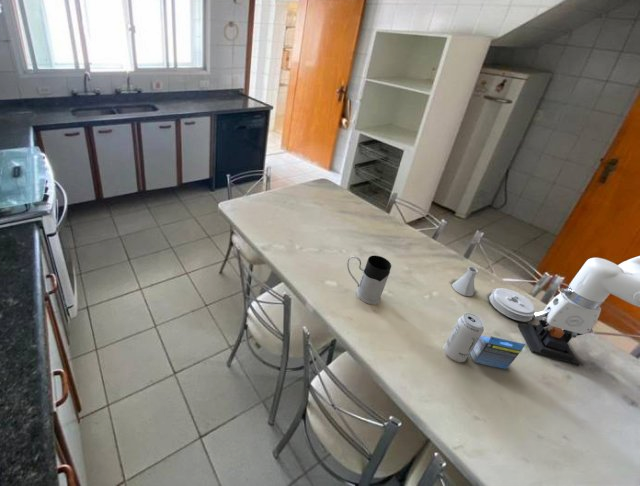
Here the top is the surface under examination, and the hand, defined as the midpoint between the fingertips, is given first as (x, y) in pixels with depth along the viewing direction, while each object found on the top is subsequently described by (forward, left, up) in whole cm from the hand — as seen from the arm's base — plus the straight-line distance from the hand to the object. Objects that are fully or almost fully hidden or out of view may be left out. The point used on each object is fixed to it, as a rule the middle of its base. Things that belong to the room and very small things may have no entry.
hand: (550, 338), depth 103 cm
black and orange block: (0, 0, 0) cm, 0 cm away
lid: (+6, -13, -3) cm, 15 cm away
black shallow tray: (0, 0, -3) cm, 3 cm away
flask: (+20, -17, -3) cm, 26 cm away
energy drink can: (+30, +16, -3) cm, 34 cm away
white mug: (+57, 0, -3) cm, 57 cm away
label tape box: (+21, +15, -3) cm, 26 cm away
